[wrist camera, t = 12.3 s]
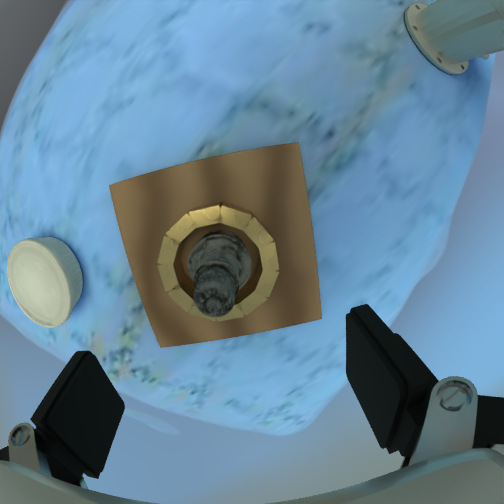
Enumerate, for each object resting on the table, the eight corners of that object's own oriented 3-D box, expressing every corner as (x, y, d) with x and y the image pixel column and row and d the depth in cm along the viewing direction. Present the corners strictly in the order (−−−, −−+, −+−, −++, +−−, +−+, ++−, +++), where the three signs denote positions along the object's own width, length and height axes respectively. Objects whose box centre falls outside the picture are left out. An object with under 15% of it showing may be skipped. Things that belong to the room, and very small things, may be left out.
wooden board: (296, 143, 26) (298, 142, 25) (319, 314, 32) (321, 318, 31) (112, 184, 26) (109, 185, 25) (162, 343, 32) (160, 347, 31)
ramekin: (29, 294, 29) (9, 309, 24) (30, 220, 26) (5, 229, 21) (88, 321, 30) (71, 342, 25) (94, 242, 28) (71, 256, 23)
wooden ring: (262, 193, 26) (266, 196, 23) (279, 293, 30) (285, 308, 26) (156, 216, 26) (145, 222, 23) (183, 311, 29) (177, 327, 26)
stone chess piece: (213, 215, 27) (197, 247, 15) (261, 248, 28) (279, 300, 16) (182, 261, 28) (150, 319, 16) (228, 291, 29) (225, 362, 18)
